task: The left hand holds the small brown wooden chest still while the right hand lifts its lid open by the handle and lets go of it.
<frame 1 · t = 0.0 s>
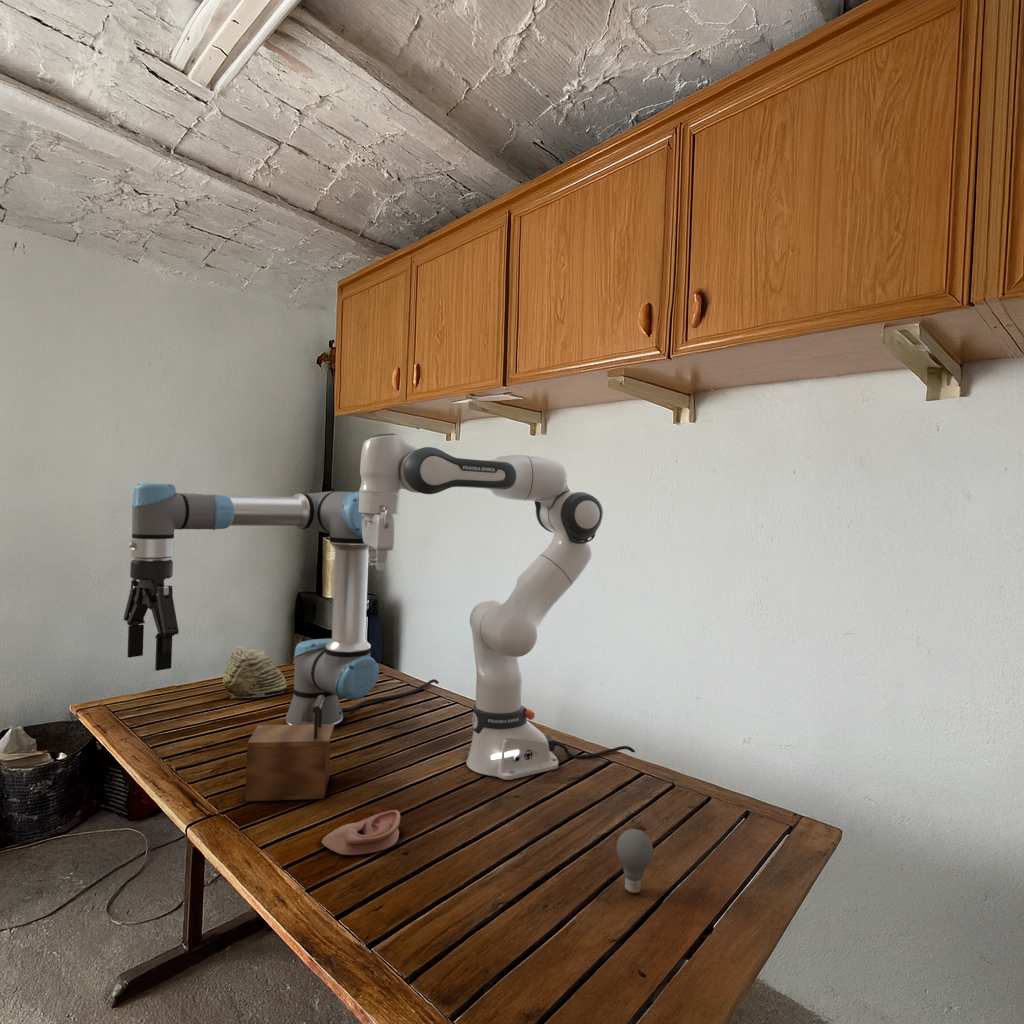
left hand: (148, 662, 129), 28 cm above the table, tool pointing down, fingers open, 13 cm apart
right hand: (376, 567, 142), 48 cm above the table, tool pointing down, fingers open, 8 cm apart
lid: (293, 719, 136), point 15 cm above the table, hinge at 0.0°
light bulb: (632, 891, 106), on the table
fossil: (254, 694, 198), on the table
chest: (289, 789, 137), on the table
anatomical model: (361, 840, 118), on the table
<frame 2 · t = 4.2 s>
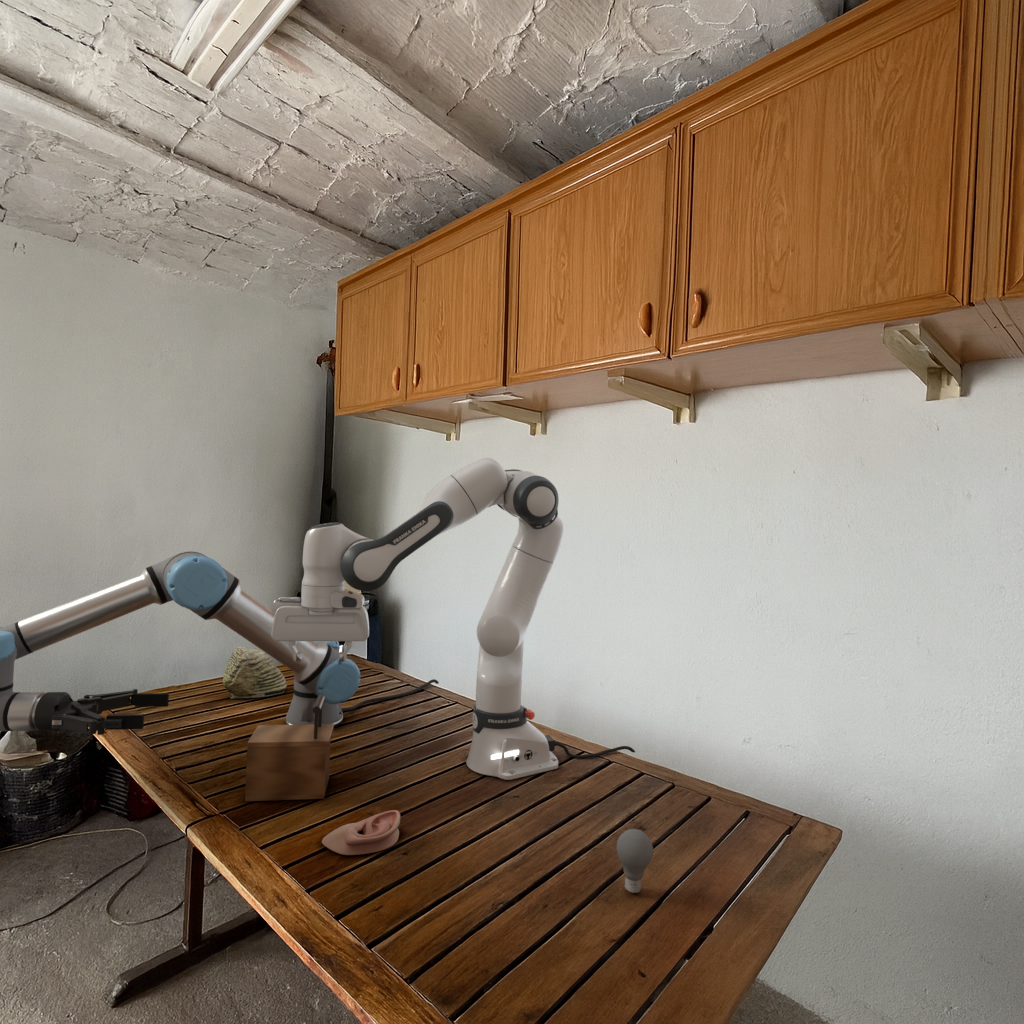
left hand: (156, 710, 132), 18 cm above the table, tool horizontal, fingers open, 13 cm apart
right hand: (320, 661, 137), 28 cm above the table, tool pointing down, fingers open, 8 cm apart
nothing on the table moved.
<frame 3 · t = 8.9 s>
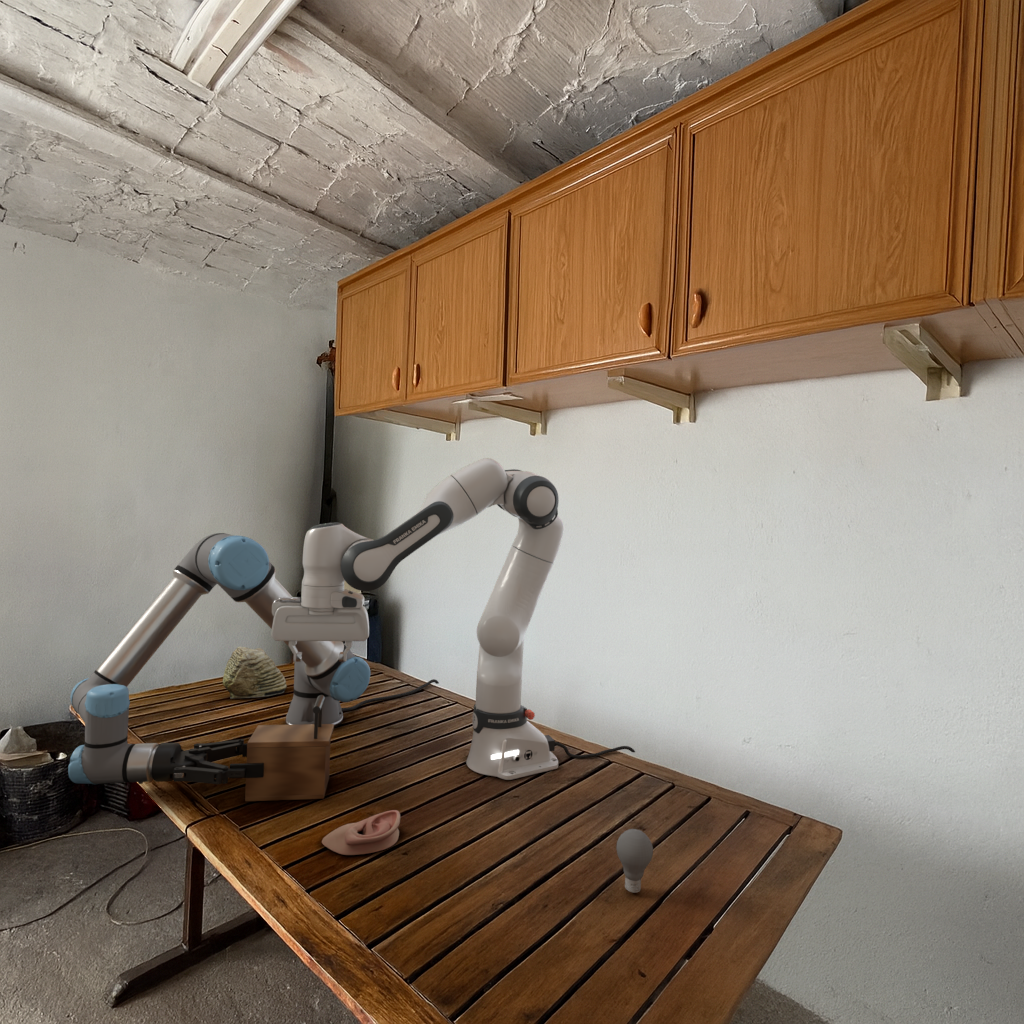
left hand: (268, 759, 136), 7 cm above the table, tool horizontal, fingers closed on chest, 10 cm apart
right hand: (320, 661, 137), 28 cm above the table, tool pointing down, fingers open, 8 cm apart
chest: (289, 789, 137), on the table, touching left hand
everything else where it was.
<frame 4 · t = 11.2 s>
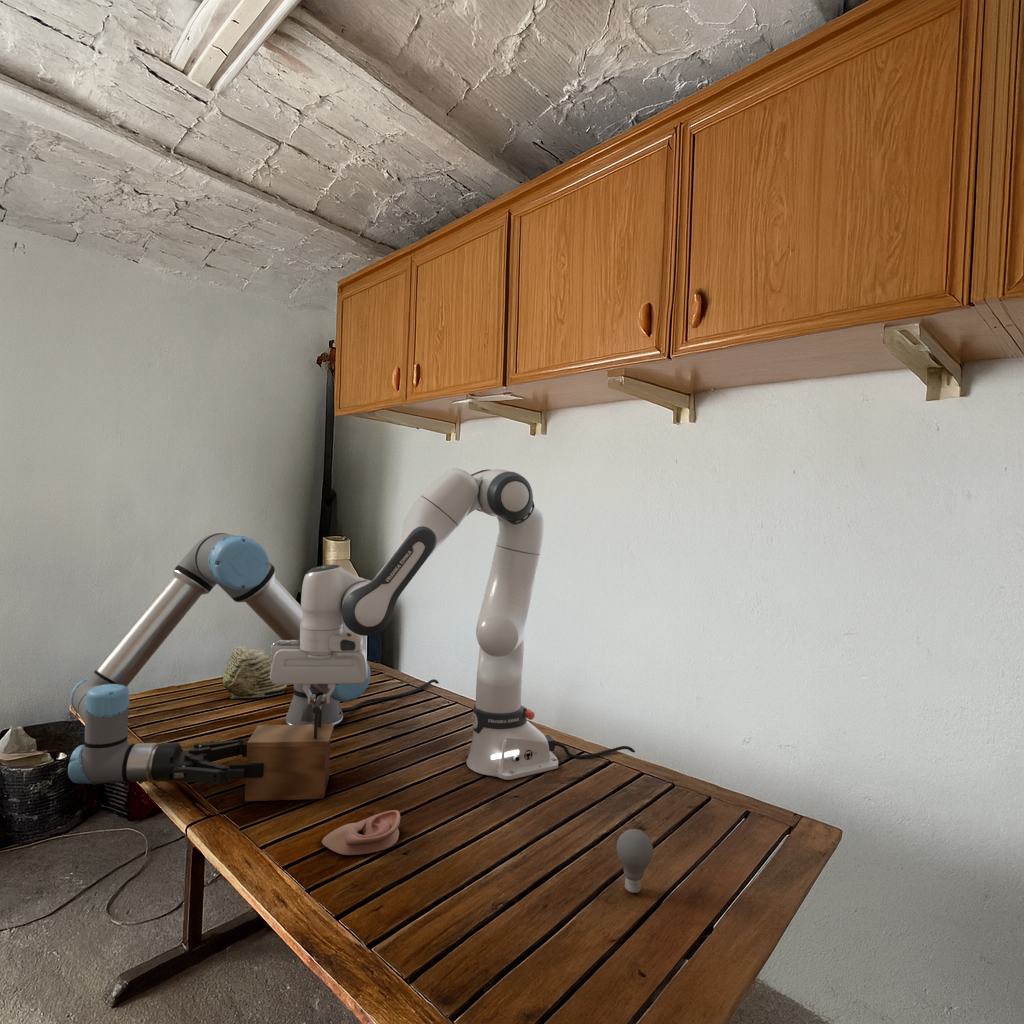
left hand: (268, 759, 136), 7 cm above the table, tool horizontal, fingers closed on chest, 10 cm apart
right hand: (318, 703, 137), 19 cm above the table, tool pointing down, fingers closed on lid, 2 cm apart
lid: (293, 719, 136), point 15 cm above the table, hinge at -0.1°, touching right hand
chest: (288, 789, 137), on the table, touching left hand
everything else where it was.
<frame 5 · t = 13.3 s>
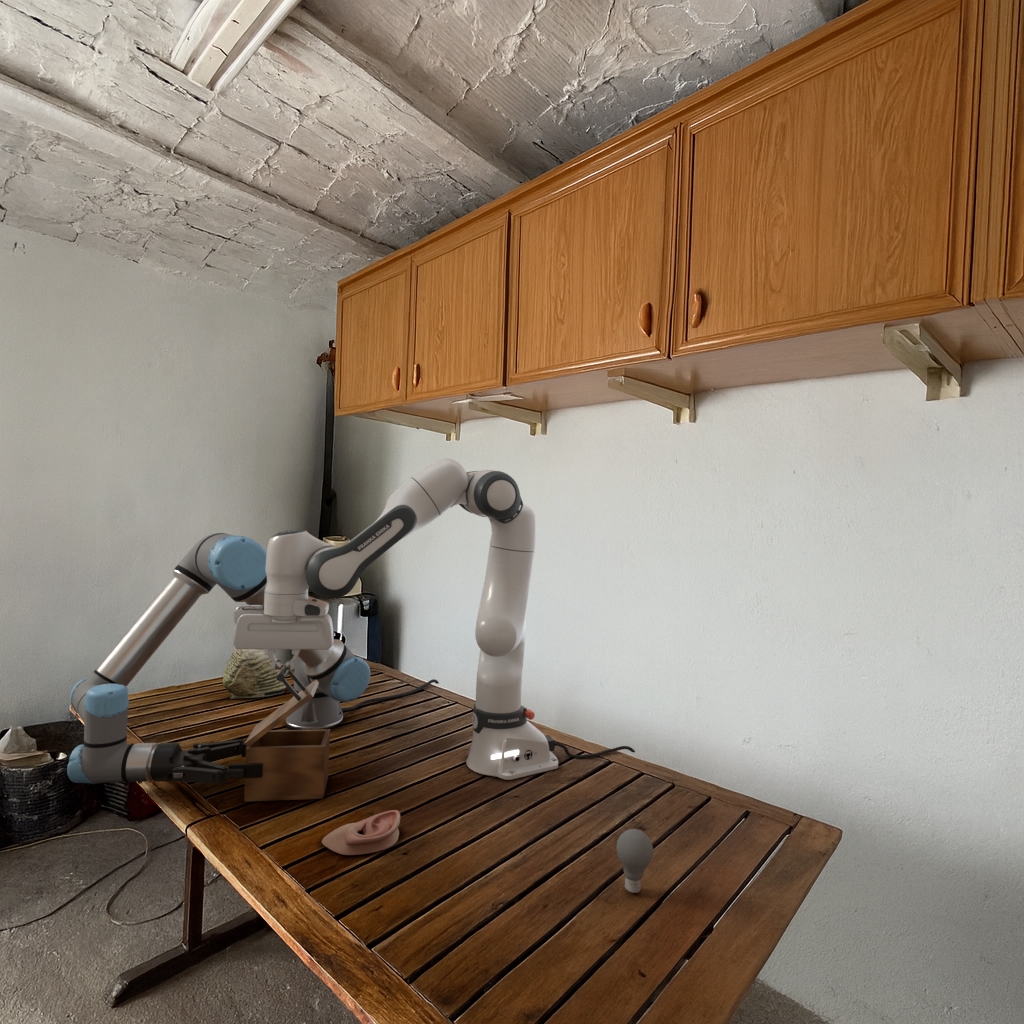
left hand: (267, 759, 136), 7 cm above the table, tool horizontal, fingers closed on chest, 10 cm apart
right hand: (283, 669, 136), 26 cm above the table, tool pointing down, fingers closed
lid: (273, 699, 136), point 20 cm above the table, hinge at 39.2°, touching right hand
chest: (288, 789, 137), on the table, touching left hand
everything else where it was.
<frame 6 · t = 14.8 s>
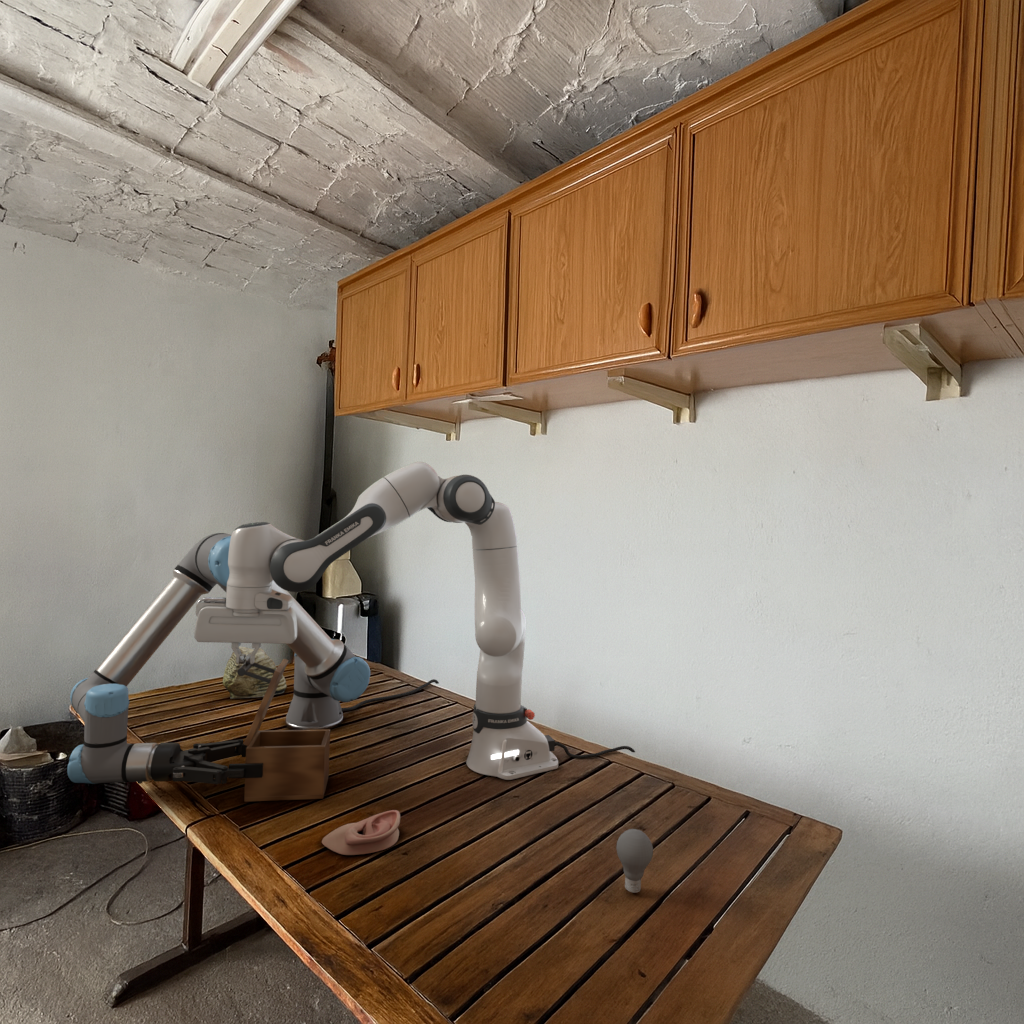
left hand: (268, 759, 136), 7 cm above the table, tool horizontal, fingers closed on chest, 10 cm apart
right hand: (245, 663, 134), 27 cm above the table, tool pointing down, fingers closed, pressing on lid
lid: (251, 695, 135), point 20 cm above the table, hinge at 69.7°, touching right hand
chest: (288, 789, 137), on the table, touching left hand
everything else where it was.
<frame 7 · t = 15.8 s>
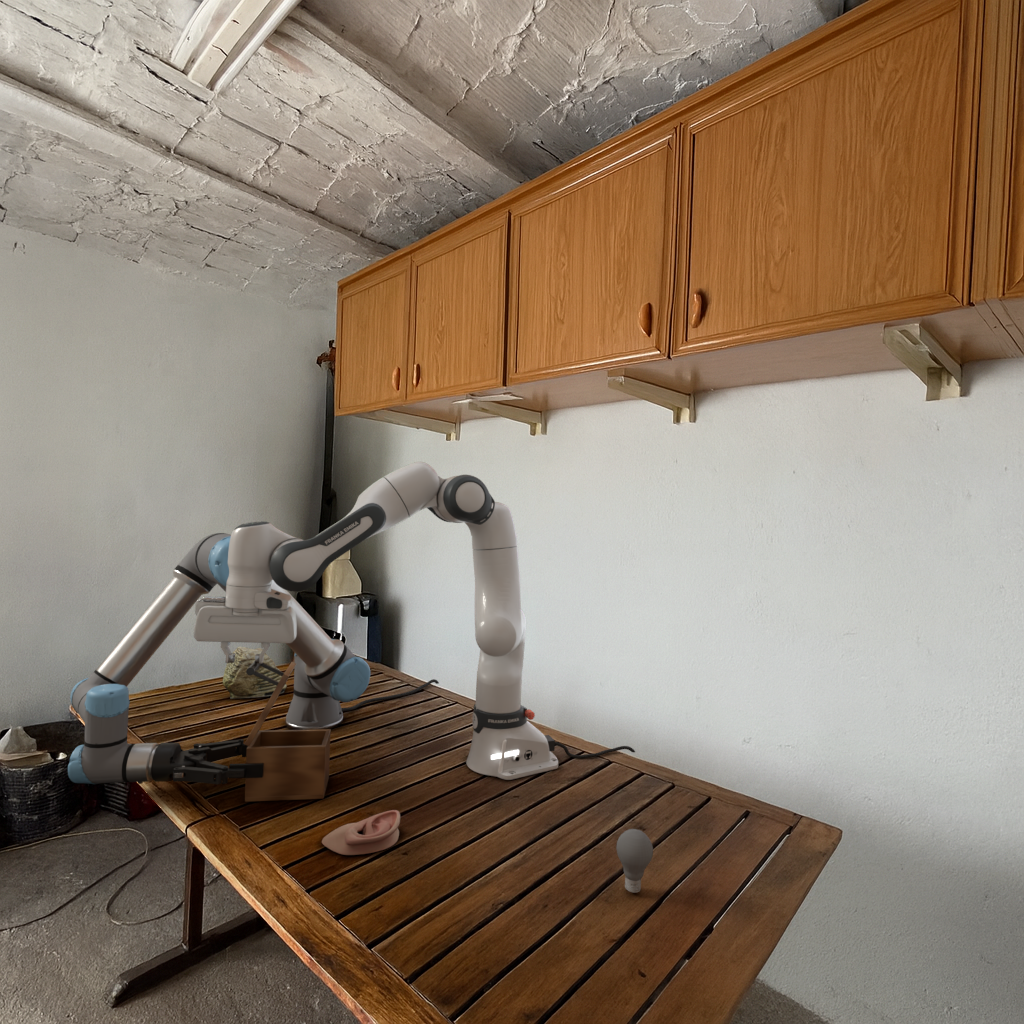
left hand: (268, 759, 136), 7 cm above the table, tool horizontal, fingers closed on chest, 10 cm apart
right hand: (244, 662, 134), 27 cm above the table, tool pointing down, fingers open, 4 cm apart
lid: (256, 695, 135), point 20 cm above the table, hinge at 63.3°, touching right hand
chest: (288, 789, 137), on the table, touching left hand
everything else where it was.
when the left hand's fingers open (7 cm above the table, at t = 19.1 s): chest stays where it is, on the table.
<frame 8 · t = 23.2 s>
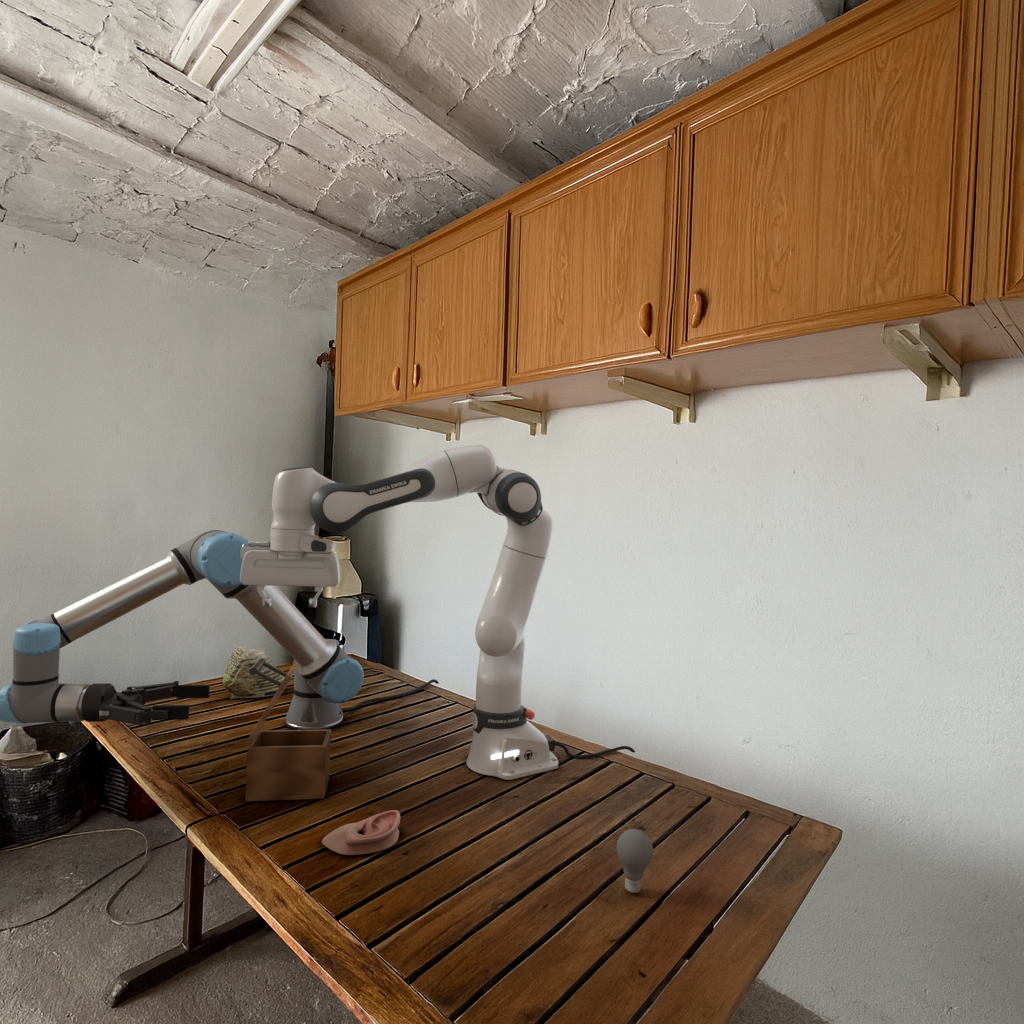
left hand: (199, 701, 133), 19 cm above the table, tool horizontal, fingers open, 13 cm apart
right hand: (289, 606, 136), 40 cm above the table, tool pointing down, fingers open, 8 cm apart
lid: (258, 695, 135), point 21 cm above the table, hinge at 61.8°
chest: (289, 789, 137), on the table
everything else where it was.
at the end: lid at +62° (first picture: +0°); the left hand is holding nothing; the right hand is holding nothing; chest tilted 0°; chest never tilted more than 1° during the clip; chest moved 0.1 cm from its start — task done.
